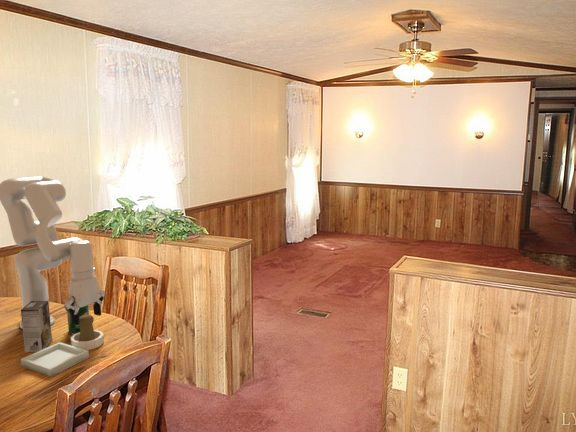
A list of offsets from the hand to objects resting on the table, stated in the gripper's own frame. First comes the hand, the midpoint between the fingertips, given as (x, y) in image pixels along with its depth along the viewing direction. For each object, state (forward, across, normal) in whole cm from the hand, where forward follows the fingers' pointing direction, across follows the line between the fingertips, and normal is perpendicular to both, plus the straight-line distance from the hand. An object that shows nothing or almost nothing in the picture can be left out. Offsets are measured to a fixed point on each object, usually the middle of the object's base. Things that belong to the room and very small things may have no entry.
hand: (87, 319), depth 177 cm
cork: (+10, 0, -1) cm, 10 cm away
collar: (+10, 0, -1) cm, 10 cm away
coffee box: (+10, +10, -15) cm, 20 cm away
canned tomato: (+10, -7, -14) cm, 18 cm away
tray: (+10, +15, +1) cm, 18 cm away
